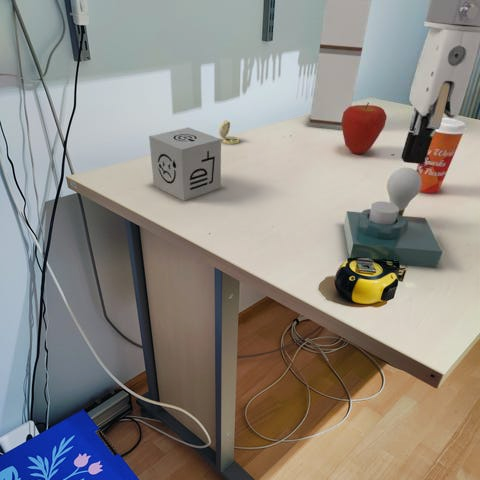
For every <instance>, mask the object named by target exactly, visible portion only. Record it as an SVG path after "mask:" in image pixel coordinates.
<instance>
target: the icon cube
mask: <svg viewBox="0 0 480 480" xmlns="http://www.w3.org/2000/svg"><path fill="white" fill-rule="evenodd" d="M148 138H149V149H150V160H151V171H152V182H153V186H154V187H156V188H157V189H159V190H161V191H163V192H166V193H167V194H169V195H171V196H173V197H176V199H177V198H178V199H179V200H181V201H183V202H186V201H188V200H190V199H194V198H197V197H199V196H203V195H205V194H208V193H211V192H214V191H216V190H220V189H221V188H222V187H221V186H222V184H221V181H222V180H221V179H222V177H221V175H222V174H221V173H222V139H221V138H219V137H216V136H213V135H211V134H208V133H205V132H203V131H200V130H197V129H194V128H191V127H184V128H180V129H175V130H171V131H167V132H162V133H157V134H153V135H149V137H148Z"/></svg>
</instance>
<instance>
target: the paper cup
mask: <svg viewBox="0 0 480 480" xmlns="http://www.w3.org/2000/svg"><path fill="white" fill-rule="evenodd" d="M466 133H467V126H466V123H465V122H464V121H462V120H459V119H455V118H453V119H451V118H449V117H444V116H443V118H442V121H441V125H440V128H439V129H436V131H435V134H434V136H433V138H432V141H431V144H430V147H429V150H428V153H427V156H426V159H425V162H424V163H423V164H417V166H416V169H415V170H416V171H417V172H418V173H419V175H420V177H421V180H422V185H421V189H420V191H419V193H424V194H430V195H431V194H437V193H438V192H440V189H441V186H442V185H443V182H444V180H445V177H446V175H447V172H448V170H449V168H450V165H451V163H452V161H453V158H454V156H455V153H456V151H457V149H458V147H459V145H460V143H461V142H460V141H461V140H462V137H463V135H464V134H466Z"/></svg>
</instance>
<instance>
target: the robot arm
mask: <svg viewBox="0 0 480 480" xmlns="http://www.w3.org/2000/svg"><path fill="white" fill-rule="evenodd" d="M423 26H424V27H427V28H429V30H428V33H427V34H426V35H427V36H426V38H425V41H424V44H423V47H422V50H421V53H420V56H419V60H418V63H417V66H416V70H415V73H414V77H413V80H412V83H411V88H410V92H409V102H410V105H412V106H413V113H412V117H411V122H410V125H409V131H408V133H407V136H406V139H405V143H404V145H403V149H402V153H401V156H400V158H401V160H402V161H403V163H406V164H417V165H418V164H423V163H424V162H425V159H426V156H427V153H428V150H429V147H430V144H431V141H432V138H433V136H434V134H435V131H436V129H439V128H440V125H441V121H442V118H443V117H444V115H445V116H446V118H451V119H455V118H457V117H458V115H459V114H460V111H461V108H462V105H463V102H464V98H465V95H466V92H467V89H468V86H469V84H470V79H471V76H472V73H473V70H474V66H475V62H476V59H477V55H478V51H479V46H480V0H430V1H429V4H428V8H427V11H426V15H425V19H424V22H423Z"/></svg>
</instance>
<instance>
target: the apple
mask: <svg viewBox="0 0 480 480" xmlns="http://www.w3.org/2000/svg"><path fill="white" fill-rule="evenodd" d="M386 122H387V114H386V112H385V109H384V108H382V107H381V106H378V105H373V104H372V105H371V104H370V103H369V102H367V104H361V105H360V104H358V105H357V104H356V105H351V107H348V108H347V109H346V110H345V111H344V113H343V117H342V129H343V130H342V136H343V140H344V145H345V146H346V148H347V149H348V150H349V151H350V152H351V153H352V154H355V155H363V154H365V153H366V152H368V151H369V150H370V149H372V147H373V146H374V144H375V143H376V142H377V140H378V138H379V136H380V135H381V133H382V131H383V129H384V128H385V126H386Z"/></svg>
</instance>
